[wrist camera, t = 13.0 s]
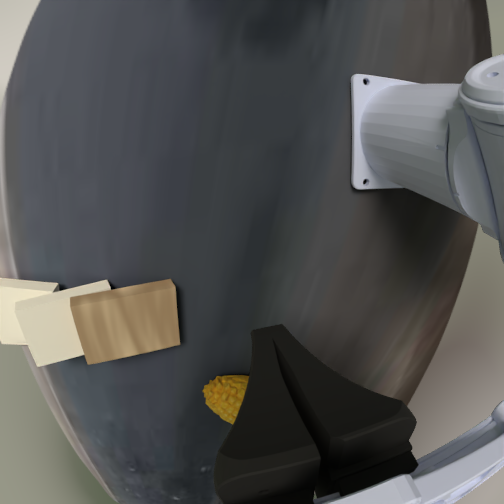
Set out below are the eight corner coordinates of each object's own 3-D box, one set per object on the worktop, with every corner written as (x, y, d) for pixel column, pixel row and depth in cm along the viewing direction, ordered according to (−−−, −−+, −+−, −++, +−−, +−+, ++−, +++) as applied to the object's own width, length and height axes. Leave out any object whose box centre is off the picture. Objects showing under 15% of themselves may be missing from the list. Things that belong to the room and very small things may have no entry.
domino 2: (110, 287, 20) (14, 311, 16) (122, 343, 22) (37, 366, 18) (106, 279, 20) (15, 301, 17) (118, 334, 23) (36, 356, 19)
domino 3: (175, 287, 20) (70, 306, 17) (180, 344, 22) (87, 364, 19) (170, 278, 21) (70, 297, 18) (175, 335, 23) (86, 354, 20)
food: (381, 388, 32) (404, 425, 27) (352, 418, 34) (371, 455, 28) (213, 350, 25) (220, 406, 20) (188, 391, 26) (191, 444, 21)
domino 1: (52, 291, 18) (-22, 283, 17) (65, 347, 20) (-5, 335, 19) (58, 283, 19) (-14, 276, 18) (69, 338, 21) (0, 327, 20)
